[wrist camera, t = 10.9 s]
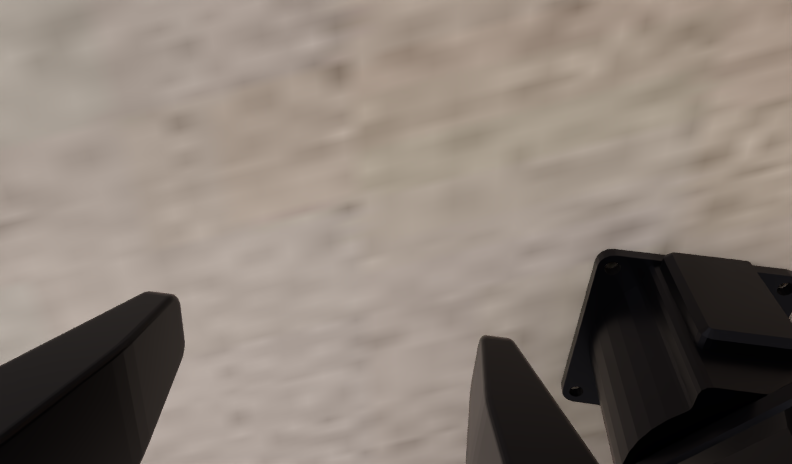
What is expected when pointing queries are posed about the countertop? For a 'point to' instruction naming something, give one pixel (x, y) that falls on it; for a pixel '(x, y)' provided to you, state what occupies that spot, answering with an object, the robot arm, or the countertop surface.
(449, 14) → the countertop surface
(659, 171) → the countertop surface
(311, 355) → the countertop surface
